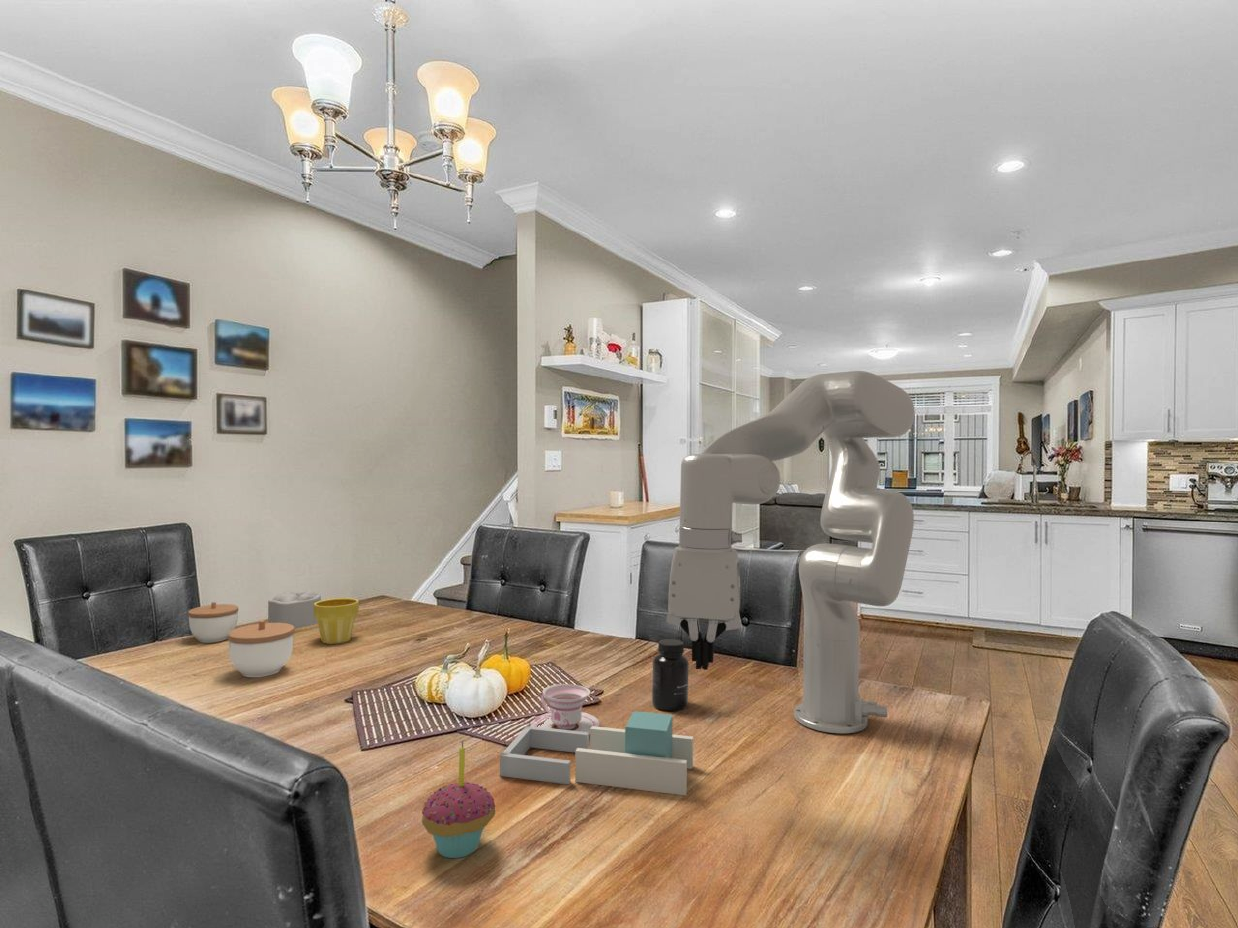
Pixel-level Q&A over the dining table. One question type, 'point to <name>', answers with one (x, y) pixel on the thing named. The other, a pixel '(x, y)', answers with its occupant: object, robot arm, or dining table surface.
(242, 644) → the lidded bowl
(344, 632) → the plant pot
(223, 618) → the lidded jar
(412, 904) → the dining table surface
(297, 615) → the grey lumpy-topped box
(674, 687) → the supplement bottle
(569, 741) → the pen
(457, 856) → the cupcake
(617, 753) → the channel
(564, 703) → the teacup
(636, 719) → the block
